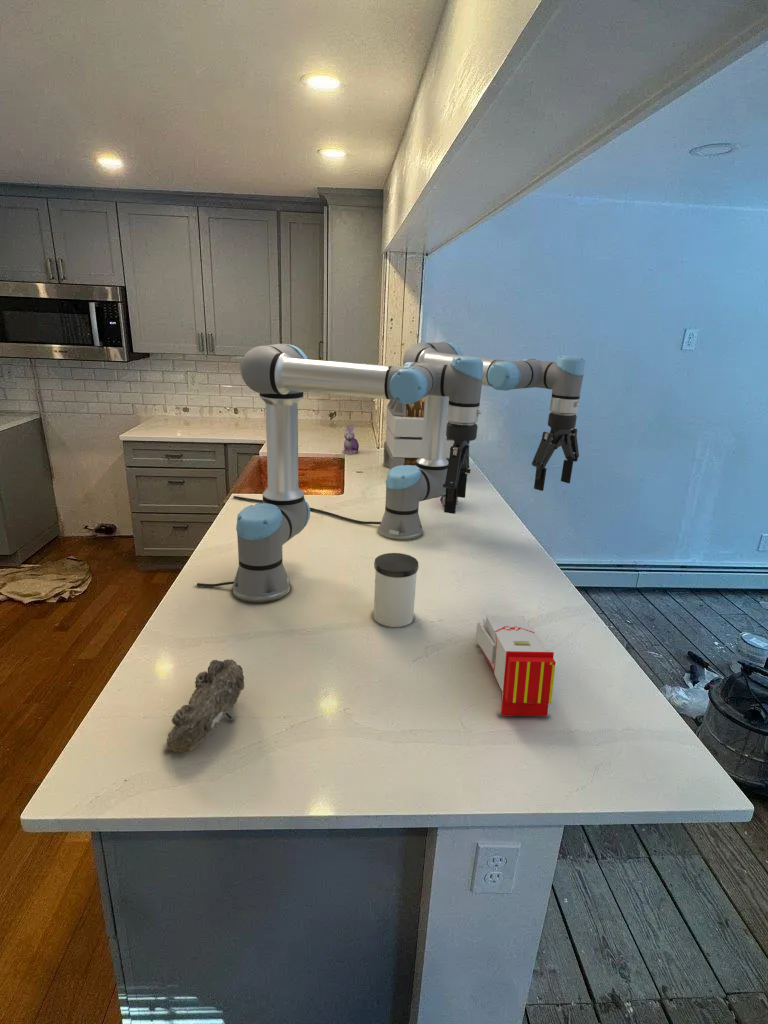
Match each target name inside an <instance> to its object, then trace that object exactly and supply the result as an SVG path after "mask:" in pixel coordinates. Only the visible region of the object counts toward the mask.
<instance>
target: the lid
mask: <svg viewBox="0 0 768 1024" xmlns="http://www.w3.org/2000/svg"><path fill="white" fill-rule="evenodd" d="M373 567H374V570H376V571H377V572H378V573H380V574H382V575H385V576H389V577H407V576H411V575H413V574H415V573H416V572H418V571H419V561H418V559H417V558H416V557H414V556H411V555H410V554H407V553H402V552H401V553H400V552H388V553H387V552H386V553H383V554H380V555H377V557H375V559H374V562H373ZM416 574H417V573H416Z"/></svg>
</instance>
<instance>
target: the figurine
mask: <svg viewBox="0 0 768 1024" xmlns="http://www.w3.org/2000/svg"><path fill="white" fill-rule="evenodd" d="M354 429H355V424H351V426H350V427H349V425H348V424H346V425H345V432H344V435H343V436H344V439H345V440H344V442H343V453H344V454H346V455H353V454H354V455H355V454H357V453H359V448H360V446H359V442H358V440H357V439H356V438H355V437H356V436H355V433H354Z"/></svg>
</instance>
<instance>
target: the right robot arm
mask: <svg viewBox="0 0 768 1024" xmlns="http://www.w3.org/2000/svg"><path fill="white" fill-rule="evenodd" d="M454 357H472V356H471V355H464V354H463V352H462V350H461V349H460V347H459V346H457V345H456V344H455V343H451V342H445V341H443V342H442V341H441V342H440V341H439V342H438V341H437V342H417V343H414V344H412V345H411V346H409V347H408V348H407V350H406V351H405V353H404V355H403V358H402V366H403V365H404V364H405V363H407V362H420V363H430V364H441V365H449V364H451V363H452V359H453V358H454ZM474 357H475V358H479V359H481V360H482V362H483V375H482V377H483V380H482V386H487V387H491V388H492V389H494V390H496V391H503V392H504V391H511V390H520V389H532V388H533V389H534V388H539V389H546V390H551V398H550V404H549V413H548V418H547V419H548V420H547V426H548V427H549V428H550V431H549V432H548V431H543V432H542V435H541V440H540V442H539V445H538V447H537V449H536V452H535V454H534V457H533V460H532V461H531V466H533V467H535V475H534V477H535V478H534V485H533V489H534V490H537V491H539V492H543V491H544V489H545V484H546V483H545V482H546V476H547V468H546V466H547V465H548V463H549V461H550V459H551V457H552V456H553V454H554V453H555V451H556V450H557V449H558V448H560V447H561V449H562V452H563V455H564V458H565V459H563V463H562V468H561V469H562V470H561V475H560V482H562V483H566V484H571V478H572V472H573V466H574V463H576V462H578V461H579V457H580V453H579V444H578V428H576V423H577V419H578V416H577V414H578V412H579V411H578V410H579V406H580V397H581V391H582V385H583V380H584V376H585V365H586V360H585V358H584V357H582V356H578V355H566V354H565V355H564V354H563V355H558V356H557V357H556V360H555V361H549V360H541V359H536V358H524V359H521V360H506V359H505V360H504V359H503V360H502V359H496V358H487V357H479V356H474ZM448 404H449V397H448V396H434V395H427V396H425V404H424V419H423V434H422V449H421V457H420V458H418V459H417V461H416V466H413V465H401V466H396V467H394V468H392V469H390V468H389V470H388V472H387V474H386V479H385V504H384V505H385V507H384V508H385V509H384V513H383V515H382V519H381V521H365V520H358V519H354V518H349V517H345V516H342V515H339V514H337V513H332V512H329V511H326V510H322V509H319V508H314V507H311V506H309V508H310V511H312V512H316V513H321V514H325V515H328V516H331V517H335V518H337V519H340V520H343V521H347V522H352V523H355V524H361V525H379V526H378V533H379V534H380V535H381V536H382V537H385V538H387V539H389V540H395V541H410V540H415V539H418V538H420V537H421V536H422V535H423V525H422V524H421V518H420V515H419V507H420V506H419V505H420V502H423V501H427V500H431V499H437V498H441V496H443V495H445V494H446V488H444V487H443V484H445V481H446V475H447V469H448V463H449V462H448V461H447V459H446V458H445V453H446V441H447V437H446V428H447V423H448V420H447V413H448ZM450 483H453V482H450ZM233 499H237V500H242V501H249V502H256V503H263V499H257V498H249V497H244V496H238V495H237V496H236V495H233Z"/></svg>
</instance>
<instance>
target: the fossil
mask: <svg viewBox="0 0 768 1024" xmlns="http://www.w3.org/2000/svg"><path fill="white" fill-rule="evenodd" d="M243 670H244V669H243V667H242V665H240V664H237V662H236V661H235V660H234V659H232V658H231V659H227V658H226V659H224V660H223V661H222V660H217V659H212V660H211V661H210V663H209V665H208V666H207V671H201V672H199V673H198V674H197V675H196V676H195V680H194V684H195V685H194V687H195V689H194V690H193V693H192V694H191V697H190V698H189V700H188V704H184V705H182V706H181V707H180V709H177V710H176V711H175V713H174V715H173V716H172V718H171V723H172V724H173V727H172V730H171V731H170V732H168V734H167V738H166V741H167V742H166V745H167V749H168V750H169V751H173V752H174V753H176V754H178V753H182V752H188V751H189V752H192V751H193V750H195V748H196V747H197V746H199V744H200V743H201V742H203V741H204V740H205V739H206V738H207V737H208V736H209V735H210V734H211V733H212V732H214V730H215V729H217V727H218V726H219V724H220V722H221V721H222V720H223V719H224V718H225V716H226V717H227V719H229V720H233V717H232V715H230V714H229V710H230V709H231V708H234V706H235V704H236V703H237V702H238V699H239V697H240V695H241V693H242V691H243V690H245V689H244V688H245V675H244V671H243Z"/></svg>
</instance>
